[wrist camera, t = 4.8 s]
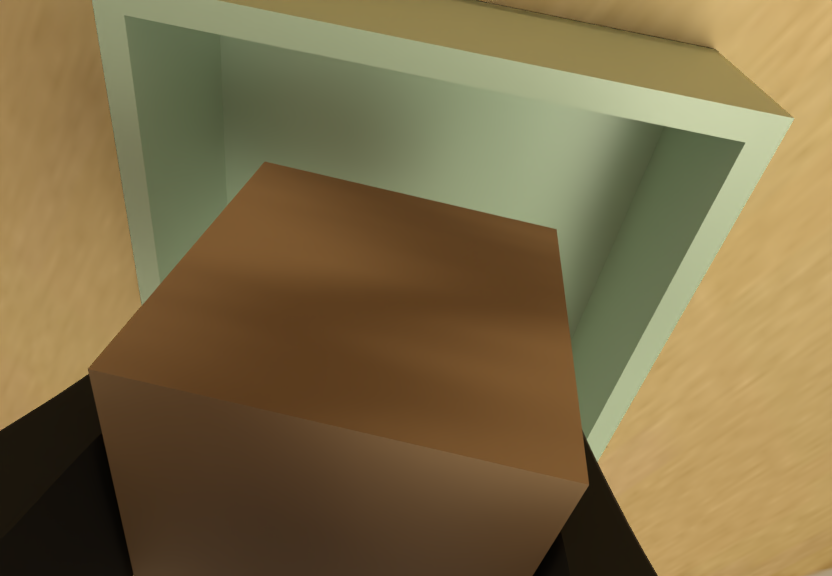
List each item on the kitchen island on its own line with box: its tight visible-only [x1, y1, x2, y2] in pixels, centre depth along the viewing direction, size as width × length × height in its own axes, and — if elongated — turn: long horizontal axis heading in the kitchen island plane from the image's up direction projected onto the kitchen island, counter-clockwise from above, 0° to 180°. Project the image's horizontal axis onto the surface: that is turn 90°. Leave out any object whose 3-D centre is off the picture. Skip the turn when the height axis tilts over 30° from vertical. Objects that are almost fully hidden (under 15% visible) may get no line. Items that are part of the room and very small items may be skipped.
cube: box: [88, 162, 589, 576], centre depth 9 cm, size 5×5×5 cm
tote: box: [92, 0, 794, 462], centre depth 18 cm, size 17×13×5 cm
